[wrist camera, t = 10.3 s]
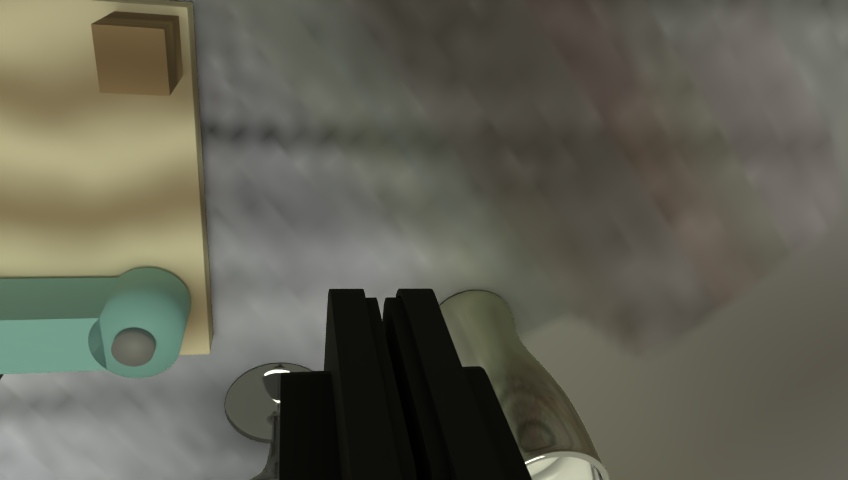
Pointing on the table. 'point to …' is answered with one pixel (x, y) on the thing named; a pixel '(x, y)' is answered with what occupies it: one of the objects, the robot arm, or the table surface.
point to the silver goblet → (259, 409)
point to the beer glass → (522, 389)
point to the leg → (93, 323)
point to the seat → (103, 146)
